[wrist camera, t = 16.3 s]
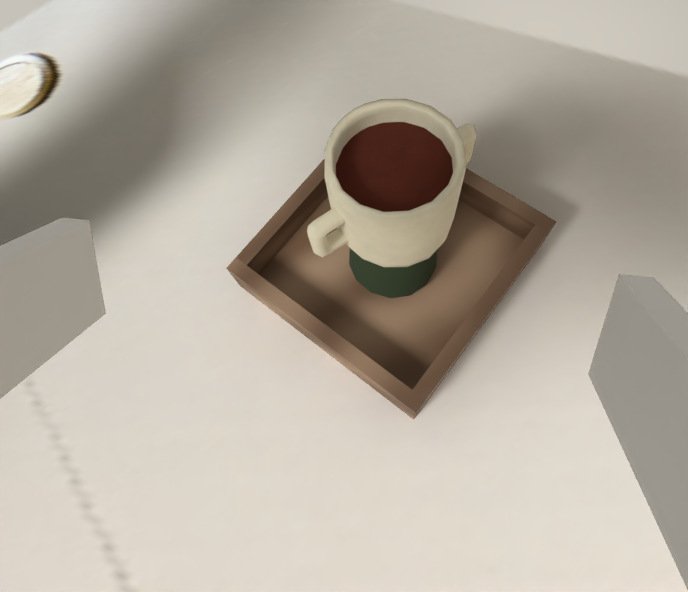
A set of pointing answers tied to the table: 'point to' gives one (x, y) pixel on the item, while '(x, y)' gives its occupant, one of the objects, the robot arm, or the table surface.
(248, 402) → the table surface
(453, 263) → the walnut tray
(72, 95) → the table surface
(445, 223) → the character mug
